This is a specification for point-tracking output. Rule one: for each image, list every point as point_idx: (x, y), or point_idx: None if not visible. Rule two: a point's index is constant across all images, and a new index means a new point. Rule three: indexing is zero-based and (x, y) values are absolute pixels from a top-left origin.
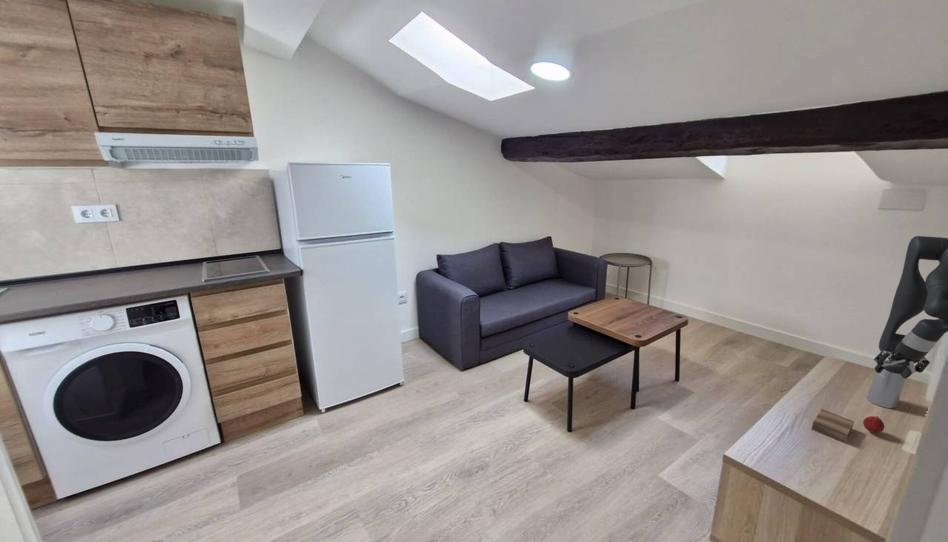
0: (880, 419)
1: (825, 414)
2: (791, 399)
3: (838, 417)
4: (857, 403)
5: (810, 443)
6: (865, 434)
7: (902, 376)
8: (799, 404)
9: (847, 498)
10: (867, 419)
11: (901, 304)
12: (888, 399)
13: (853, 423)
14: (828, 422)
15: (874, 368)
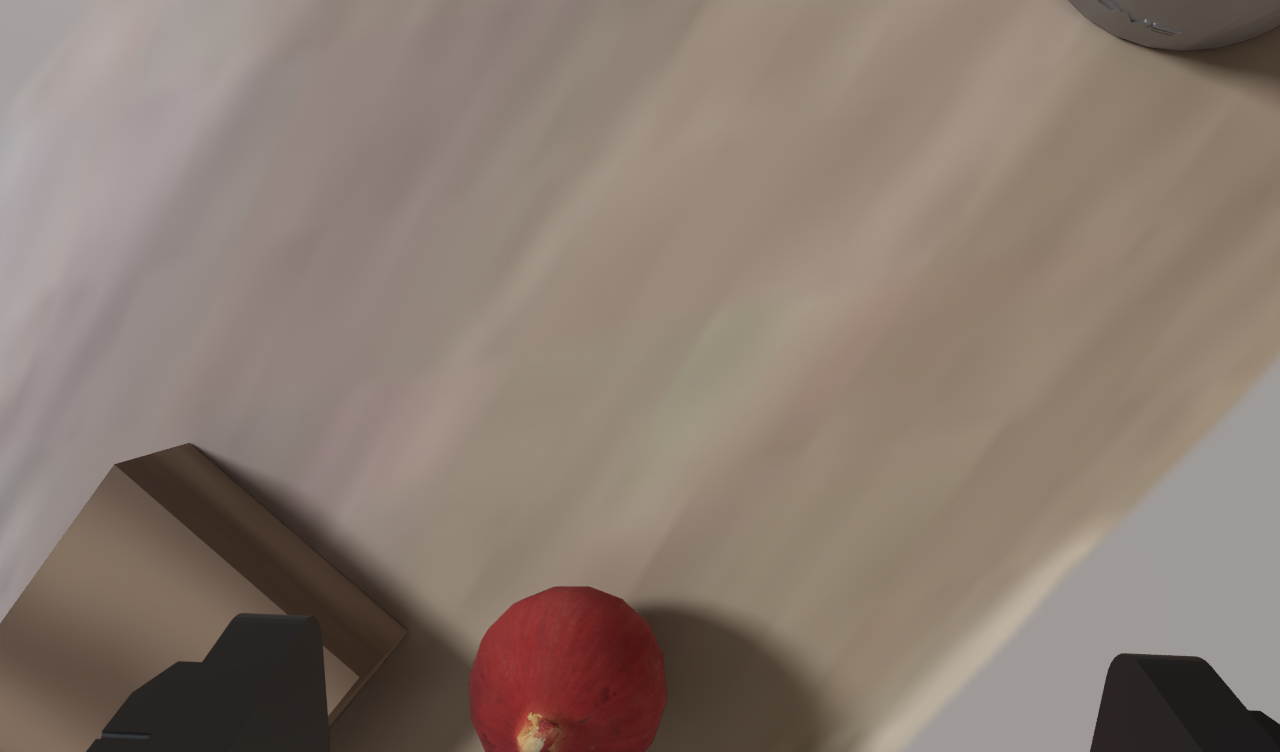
0: (593, 746)
1: (100, 582)
2: (36, 117)
3: (220, 620)
4: (817, 15)
5: None
6: None
7: (1103, 748)
8: (82, 216)
9: None
10: (473, 703)
11: None
12: (1203, 10)
13: (352, 688)
14: (62, 739)
15: (167, 668)
